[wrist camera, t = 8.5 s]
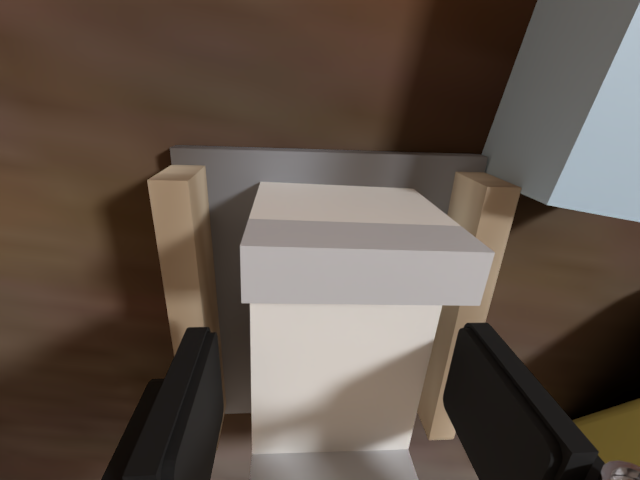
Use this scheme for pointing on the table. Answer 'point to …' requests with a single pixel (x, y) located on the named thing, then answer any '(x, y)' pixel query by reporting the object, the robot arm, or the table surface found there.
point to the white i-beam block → (346, 323)
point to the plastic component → (614, 432)
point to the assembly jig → (305, 168)
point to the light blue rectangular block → (574, 109)
